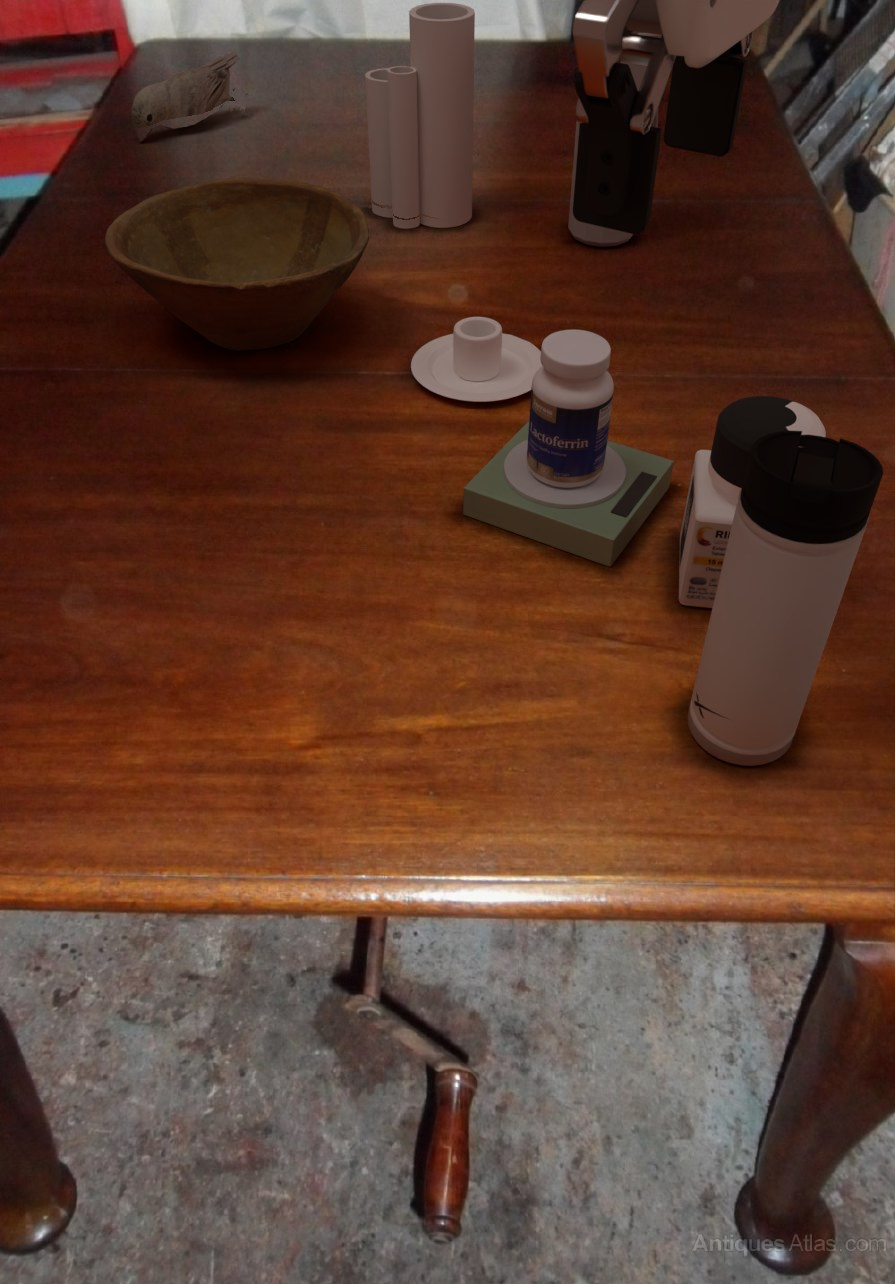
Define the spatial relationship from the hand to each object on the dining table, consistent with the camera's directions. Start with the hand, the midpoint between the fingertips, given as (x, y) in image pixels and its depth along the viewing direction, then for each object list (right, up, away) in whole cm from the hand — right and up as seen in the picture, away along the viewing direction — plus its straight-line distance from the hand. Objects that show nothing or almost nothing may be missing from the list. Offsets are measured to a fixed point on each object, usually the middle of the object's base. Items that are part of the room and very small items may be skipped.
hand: (655, 185), depth 47 cm
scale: (0, -9, +34) cm, 35 cm away
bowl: (-27, +9, +53) cm, 60 cm away
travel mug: (+8, -25, +18) cm, 32 cm away
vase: (-12, +27, +71) cm, 77 cm away
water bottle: (+8, +24, +68) cm, 72 cm away
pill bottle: (-1, -7, +32) cm, 33 cm away
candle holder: (-6, +4, +47) cm, 48 cm away
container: (+11, -16, +28) cm, 34 cm away
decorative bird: (-42, +46, +91) cm, 111 cm away
